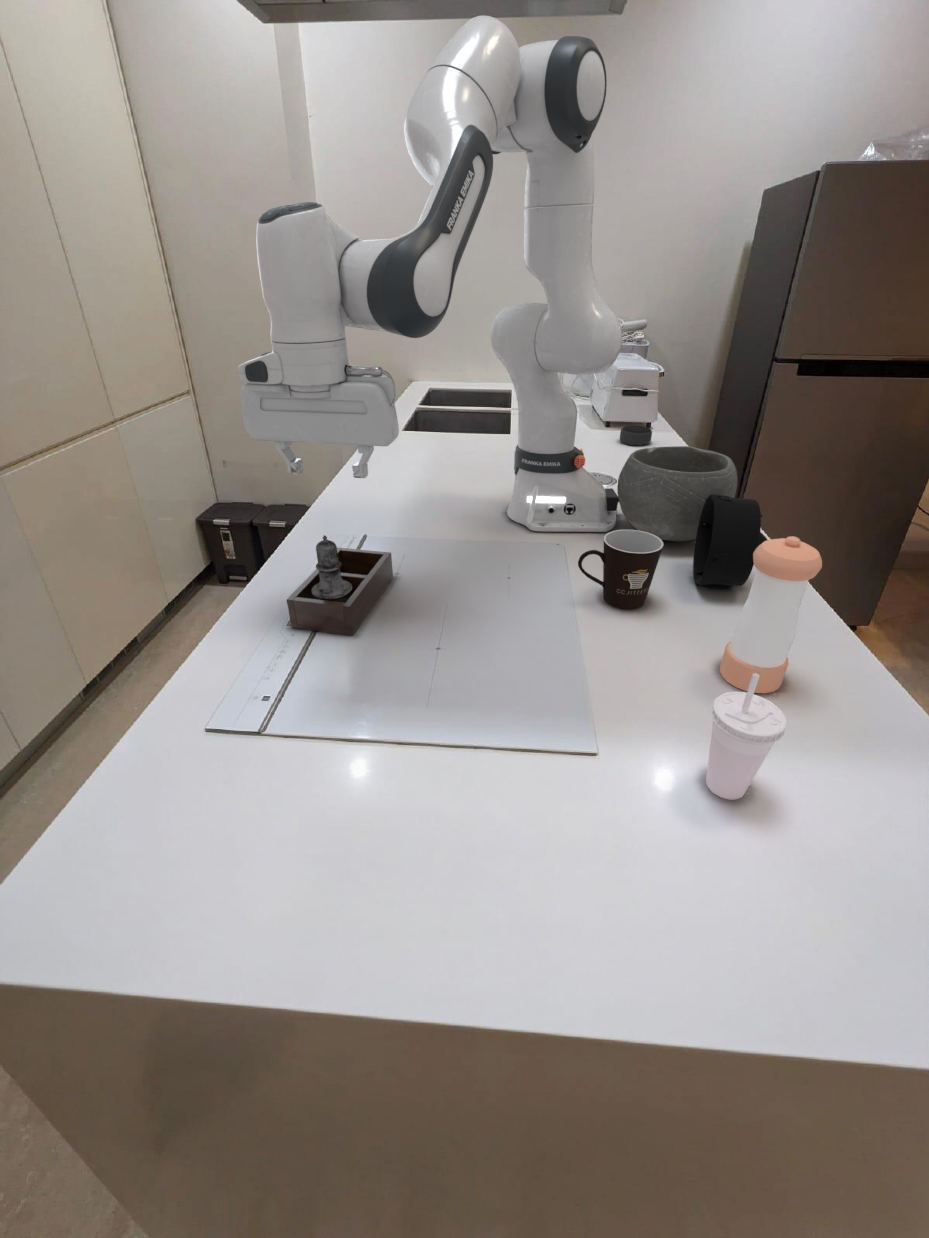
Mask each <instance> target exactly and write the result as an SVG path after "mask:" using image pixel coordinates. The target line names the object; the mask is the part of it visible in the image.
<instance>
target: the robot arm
mask: <svg viewBox="0 0 929 1238" xmlns="http://www.w3.org/2000/svg"><path fill="white" fill-rule="evenodd" d="M607 82H608V81H607V70H606V64H605V61H604V58H603V56H602V54H601V52H600V50H599V48H598V46H597V44H596V43H595V42H594V41H593V40H592V39H591V38H589V37H586V36H580V35H565V36H562V37H561V38H559V39H552V40H542V41H536V42H531V43H528V44H525V45H522V46H520V47H519V44H518V42H517V40H516V38H515V36H514V34H513V33H512V30H510V29H509V27H508V26H506V24H505V23H504V22H503V21H501V20H500V19H498V18H496V17H493V16H490V15H477V16H474V17H472V18H470V19H468V20H467V21H466V22H465V23H464V24H463V25H462V26H461V27H460V28H458V29H457V30H456V32H455V33H454V34H453V35H452V37H451V38H450V39H448V41H447V42H446V43H445V45H443V47H442V49H440V51H439V53H438V54H437V55H436V57H435V59H434V60H433V61H432V63H431V64H430V66H429V67H428V69H427V71H426V73H425V74H424V76H423V77H422V79H421V81H420V82H419V85H418V86H417V88H416V90H415V92H414V93H413V96H412V98H411V100H410V103H409V105H408V108H407V112H406V114H405V118H404V122H403V134H404V140H405V146H406V149H407V152H408V155H409V158H410V159H411V161H412V164H413V165H414V167H415V169H416V170H417V172H418V173H419V175H420V176H421V178H423V179H424V180H425V181H426V182H427V183H428V184H429V185H430V186H431V187H432V188H431V191H430V193H429V195H428V198H427V200H426V203H425V204H424V208H423V210H422V212H421V214H420V217H419V219H418V222H417V223H416V224H415V226H414V227H413V228H412V229H410V230H409V231H407V232H405V233H403V234H401V235H398V236H396V237H393V238H392V237H391V238H381V239H379V238H378V239H365V238H363V239H361V237H360V236H359V235H357V234H354V233H352V232H351V231H349V230H347V229H346V228H344V227H343V226H342V225H340V224H339V223H338V222H336V220H334V219H333V218H332V216H330V215H329V213H328V212H327V210H326V208H325V206H324V205H322V204H321V203H318V202H312V201H310V202H309V201H308V202H298V203H295V204H294V203H293V204H286V205H281V206H277V207H273V208H270V209H268V210H266V211H264V212H263V213H262V214H261V216H260V217H258V220H257V224H256V233H255V234H256V235H255V236H256V237H255V240H256V241H255V242H256V257H257V265H258V266H257V267H258V274H259V279H260V287H261V292H262V298H263V301H264V304H265V306H266V308H267V311H268V314H269V318H270V333H269V334H270V337H269V338H270V343H271V349H272V350H271V351H267V352H264V353H261V354H260V356H258V357H256V358H255V357H254V358H253V359H250V360H247V361H245V362H243V363H240V364H239V365H238V366H237V374H238V375H237V376H238V378H239V380H240V382H242V383H243V384H244V385H242V386H241V389H240V393H239V394H240V395H239V398H240V401H239V402H240V409H241V416H242V422H243V426H244V430H245V432H246V434H247V435H248V436H249V437H250V438H251V439H252V440H254V441H266V442H274V447H275V448H274V449H275V450H276V452H277V453H278V454H279V456H280V457H281V458H282V459H283V461H284V462H285V463H286V469H287V473H288V474H289V475H301V474H303V472H304V465H303V458H301V457H300V458H297V456H296V455H295V453H294V452H293V450H292V449H291V447H290V446H292V445H293V443H303V444H304V443H305V444H323V445H324V444H326V445H327V444H328V445H345V446H346V445H347V446H357V451H358V452H357V453H358V454H362V455H361V457H360V459H359V461H356V462H355V463H354V464H352V465H351V467H352V472H353V473H352V475H353V478H354V479H366V478H367V477H368V476H369V467H368V463H369V461H370V458H371V456H372V455H373V452H374V451H375V447H388V446H390V445H391V444H393V443H394V442H395V441H396V439H397V438H398V436H399V434H400V427H399V419H398V413H397V409H396V408H397V407H396V404H395V400H396V383H395V379H394V378H393V376H392V375H391V374H390V373H389V371H386V370H384V369H383V368H382V367H381V366H377V365H376V366H375V365H372V366H362V365H350V361H349V351H348V343H347V335H346V327H350V328H355V329H364V330H368V331H375V332H376V331H377V332H378V331H379V332H387V333H391V334H395V335H398V336H402V337H406V338H409V339H421V338H423V337H426V336H428V335H429V334H431V333H432V332H433V331H434V330H436V329H437V328H438V327H439V325H440V323H441V322H442V321H443V319H444V317H445V315H446V314H447V311H448V309H449V305H450V302H451V298H452V293H453V288H454V283H455V278H456V275H457V272H458V268H459V265H460V263H461V260H462V258H463V255H464V253H465V250H466V248H467V245H468V243H469V241H470V237H471V235H472V233H473V230H474V227H475V225H476V222H477V220H478V218H479V214H480V213H481V210H482V206H483V205H484V202H485V200H486V197H487V193H488V191H489V188H490V186H491V185H490V184H491V181H492V177H493V170H494V156H493V155H499V154H501V153H525V156H526V160H527V165H526V174H525V182H524V183H525V185H524V201H523V203H524V205H523V206H524V207H523V208H524V210H523V212H524V213H523V261H524V265H525V267H526V269H527V271H528V272H529V273H530V275H532V276H533V277H535V278H536V279H537V280H538V281H539V282H540V284H541V286H542V288H543V290H544V293H545V296H546V297H545V298H546V301H547V302H546V303H545V302H544V303H543V302H523V303H518V304H513V305H510V306H506V307H504V308H502V309H501V310H500V311H499V312H498V313H497V314H496V316H495V318H494V320H493V323H492V327H491V330H490V333H491V334H490V340H491V347H492V350H493V352H494V355H495V356H496V357H497V359H498V360H499V361H500V362H501V363H502V365H503V366H504V368H505V369H506V371H507V373H508V375H509V377H510V379H511V382H512V385H513V388H514V392H515V395H516V396H515V397H516V402H517V410H518V413H517V414H518V422H517V423H518V428H517V429H518V432H517V433H518V434H517V444H516V446H515V450H514V458H513V461H514V462H513V470H514V481H513V482H514V483H513V489H512V492H511V493H512V494H511V497H510V501H509V505H508V508H507V510H506V515H507V517H508V519H510V520H512V521H514V522H516V523H517V524H520V525H523V526H525V527H526V528H527V529H529V530H531V531H532V532H545V533H546V532H547V533H549V532H557V533H559V532H562V533H563V532H564V533H566V532H567V533H605V532H606V533H608V532H610V531H611V530H612V529H613V528H614V527H615V526H616V523H617V513H616V512H617V511H618V503H619V498H618V493H617V492H616V491H615V490H614V488H605V487H604V485H603V483H602V482H601V481H600V480H598V479H597V478H595V476H594V475H592V474H591V473H590V472H589V471H588V470H587V469H585V467H584V466H585V464H586V457H585V454H584V452H583V449H582V448H580V449H579V448H578V447H576V446H575V442H576V441H575V440H576V431H577V430H576V429H577V420H578V409H577V403H576V402H575V400H574V398H572V397H571V396H570V395H569V394H568V393H567V392H566V391H565V389H564V388H563V386H562V384H561V382H560V378H559V373H560V374H565V375H566V374H567V375H573V376H585V375H586V376H587V375H596V374H601V373H605V372H606V371H608V370H609V369H610V368H611V367H612V366H613V364H614V363H615V362H616V360H617V358H618V356H619V354H620V352H621V349H622V344H623V329H622V325H621V322H620V319H619V318H618V316H617V315H616V314H615V312H613V310H612V309H611V308H609V306H608V305H607V303H606V302H605V300H604V299H603V297H602V294H601V292H600V290H599V287H598V284H597V281H596V277H595V273H594V267H593V257H592V251H593V250H592V249H593V248H592V245H593V241H592V240H593V219H594V218H593V217H594V202H595V161H594V160H595V159H594V146H593V139H592V138H593V137H592V135H593V133H594V131H595V129H596V127H597V126H598V123H599V121H600V119H601V116H602V113H603V110H604V106H605V103H606V96H607V84H608V83H607ZM763 517H764V515H763V514H762V513H761V518H763Z"/></svg>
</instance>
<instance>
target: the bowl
mask: <svg viewBox="0 0 929 1238" xmlns="http://www.w3.org/2000/svg"><path fill="white" fill-rule="evenodd" d="M617 479H618V480H617V488H616V490H617V496H618V498H619V502H618V503H619V507H620V509H621V512H622V514H623V516H624V518H625V519H626V520H627V521H628V522H629V524H630V525H631V526H632V527H634V529H635V530H638V531H643V532H647V533H651V534H653V535H655V536H657V537H659V538H660V539H661V540H662V541H669V542H690V541H693V540H696V535H697V529H698V525H699V520H700V516H701V513H702V509H703V506H704V504H705V501H706V499H707V498H708V496H709V495H710V494H717V495H724V496H729V497H731V498H736V493H737V488H738V470H737V468H736V465H735V463H734V462H733V460H732V458H730V456H727V455H725V454H723V453H720V452H718V451H713V450H709V449H704V448H699V447H695V446H691V445H684V446H683V445H679V446H676V445H675V446H653V447H644V448H640V449H637V450H634V451H632V453H631V454H630V455H629V456H628V458H626V461H625V463H624V465H623V466H622V468H621V471H620V473H619V476H618V478H617ZM703 525H706V524H705V523H704V524H703Z"/></svg>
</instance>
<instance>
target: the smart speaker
mask: <svg viewBox="0 0 929 1238" xmlns="http://www.w3.org/2000/svg"><path fill="white" fill-rule="evenodd" d="M652 435H653V431H652V429H651V428H649V427H647V426H643V425H642V426H641V425H626V426H623V427H621V429H620V433H619V440H620V442H621V443H623V444H625V445H628V446H633V447H634V446H635V447H636V446H638V447H639V446H640V447H641V446H646V445H648V444H650V443H651V441H652V438H653V437H652Z"/></svg>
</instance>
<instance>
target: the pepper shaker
mask: <svg viewBox="0 0 929 1238" xmlns="http://www.w3.org/2000/svg"><path fill="white" fill-rule="evenodd" d="M753 562H754V565H753V566H754V567H755V568H756V570H755V574H754V577H753V579H752V583H751V587H750V590H749V593H748V596H747V598H746V601H745V603H744V605H743V607H742V608H741V610H740V612H739V614H738V615H737V616H738V617H737V618H736V621H735V623H734V627H733V630H732V635H731V639H730V641H729V642H728V643H727V644H726V645H725V647H724V652H723V655H722V658H721V663H720V666H719V673H720V674H721V678H722V679H724V680H725V681H726V682H727V683H728V684H730V685H731V686H733V687H735V688H737V689H740V690H742V691H743V692H747V691H748V688H749V684H750V681H751V678H752V675H753V674H754V673H756V674H759V679H758V682H757V685H756V688H755V691H754V694H769V693H773V692H775V691H777V690H780V687H781V686H782V683H783V680H784V677H785V675H786V672H787V670H788V666H789V657H788V656H789V653H790V651H791V648H792V645H793V643H794V640H795V637H796V631H797V625H798V624H797V623H798V617H799V611H800V607H801V604H802V601H803V598H804V595H805V592H806V589H807V587H808V583H809V580H811V579H814V578H815V577H816V576H817V575H818V574H819V573H820V571H821V570H822V568H823V560H822V556H821V554H820V552H819V550H818V549H817V548H815V547H813V546H812V545H810V544H808V543H806V542H804V541H801V539H800V538H799V537H797V536H794V535H793V536H792V535H790V536H787V537H786V538H785V537H781V538H780V537H779V538H771V539H767V541H764V542H763V543H762V544H760V545H759V546H758V547H757V548H756V550H755V551H754V553H753Z"/></svg>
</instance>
